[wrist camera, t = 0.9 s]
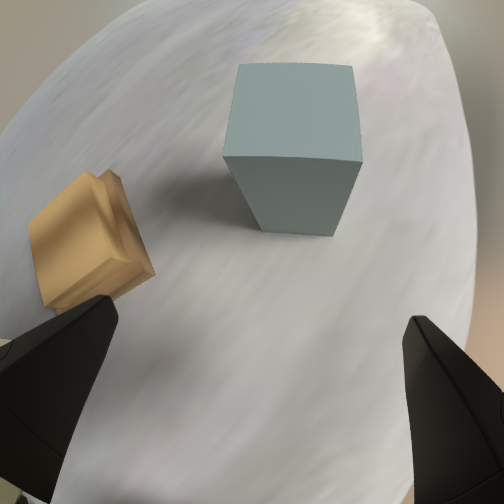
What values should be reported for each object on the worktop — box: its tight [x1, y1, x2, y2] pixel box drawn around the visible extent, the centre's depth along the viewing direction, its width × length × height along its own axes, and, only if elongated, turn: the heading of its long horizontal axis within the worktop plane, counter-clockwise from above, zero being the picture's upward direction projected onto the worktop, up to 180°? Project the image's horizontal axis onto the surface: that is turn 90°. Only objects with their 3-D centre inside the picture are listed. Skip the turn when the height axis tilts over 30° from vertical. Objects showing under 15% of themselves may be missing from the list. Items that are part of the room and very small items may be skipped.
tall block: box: [222, 63, 363, 236], centre depth 15 cm, size 5×5×11 cm
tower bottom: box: [56, 170, 156, 315], centre depth 22 cm, size 10×10×2 cm
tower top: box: [28, 170, 130, 308], centre depth 20 cm, size 8×8×2 cm
